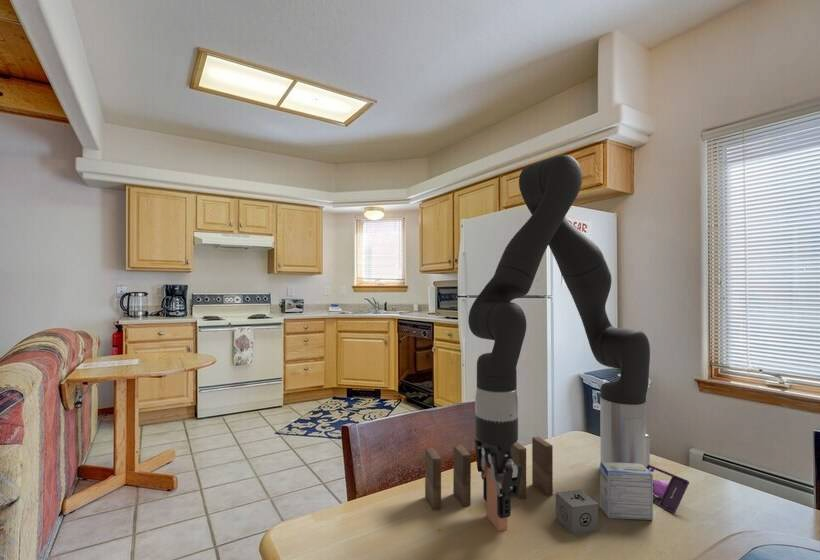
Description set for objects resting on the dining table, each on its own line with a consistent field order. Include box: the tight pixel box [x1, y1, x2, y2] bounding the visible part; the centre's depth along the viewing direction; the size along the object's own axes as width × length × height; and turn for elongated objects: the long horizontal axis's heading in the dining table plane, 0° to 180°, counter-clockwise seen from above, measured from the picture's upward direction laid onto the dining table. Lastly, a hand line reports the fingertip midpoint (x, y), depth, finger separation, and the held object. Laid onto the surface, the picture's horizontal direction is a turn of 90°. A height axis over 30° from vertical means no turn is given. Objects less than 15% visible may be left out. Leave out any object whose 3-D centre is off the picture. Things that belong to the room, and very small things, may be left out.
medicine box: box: [599, 461, 654, 521], centre depth 77 cm, size 8×4×9 cm, turn 84°
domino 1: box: [424, 447, 442, 511], centre depth 80 cm, size 2×5×10 cm, turn 15°
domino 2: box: [452, 444, 472, 507], centre depth 82 cm, size 2×5×10 cm, turn 15°
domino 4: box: [511, 441, 527, 500], centre depth 85 cm, size 2×5×10 cm, turn 15°
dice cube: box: [555, 489, 599, 535], centre depth 74 cm, size 5×5×5 cm
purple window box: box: [646, 464, 690, 515], centre depth 82 cm, size 7×5×9 cm
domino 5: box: [531, 436, 554, 497], centre depth 86 cm, size 2×5×10 cm, turn 15°
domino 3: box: [485, 464, 508, 532], centre depth 74 cm, size 2×5×10 cm, turn 15°
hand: (496, 507), depth 74 cm, fingers closed on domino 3, 5 cm apart
